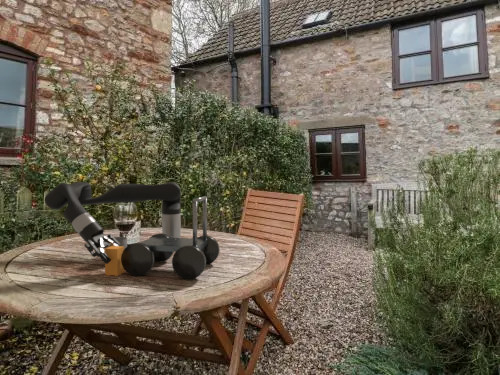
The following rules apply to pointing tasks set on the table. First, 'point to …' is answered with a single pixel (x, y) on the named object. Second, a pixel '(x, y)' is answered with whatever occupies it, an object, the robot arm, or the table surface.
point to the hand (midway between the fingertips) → (115, 259)
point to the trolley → (186, 251)
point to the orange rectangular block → (114, 260)
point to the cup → (121, 241)
